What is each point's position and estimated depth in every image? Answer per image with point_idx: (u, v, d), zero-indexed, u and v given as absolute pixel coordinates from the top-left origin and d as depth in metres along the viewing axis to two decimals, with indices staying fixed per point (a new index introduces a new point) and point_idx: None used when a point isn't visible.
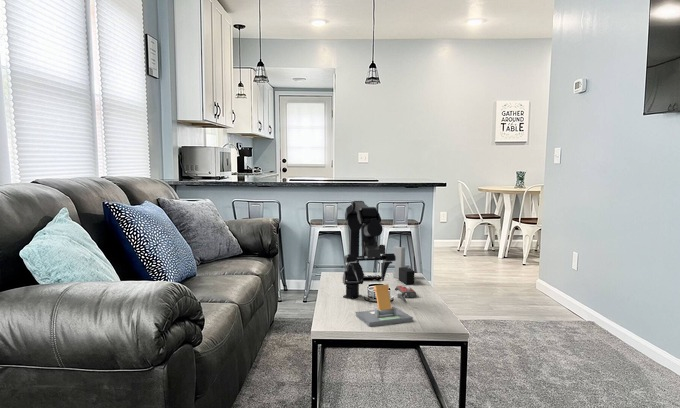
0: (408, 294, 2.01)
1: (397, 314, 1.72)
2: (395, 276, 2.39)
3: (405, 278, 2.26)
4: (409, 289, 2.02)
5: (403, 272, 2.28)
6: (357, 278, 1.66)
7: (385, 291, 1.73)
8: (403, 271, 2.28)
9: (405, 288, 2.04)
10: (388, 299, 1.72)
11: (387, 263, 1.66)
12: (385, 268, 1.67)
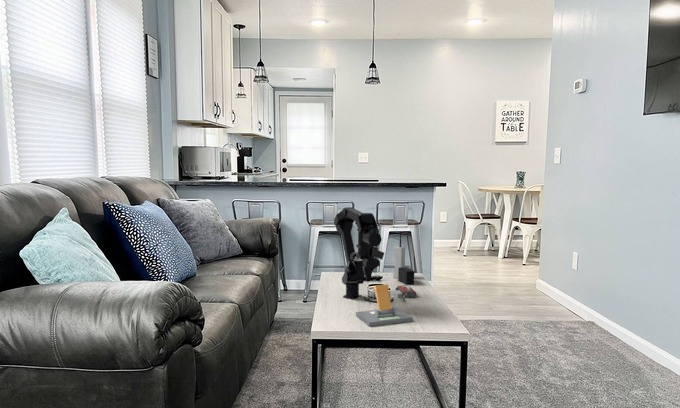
0: (408, 294, 2.01)
1: (397, 314, 1.72)
2: (395, 276, 2.39)
3: (405, 278, 2.25)
4: (409, 289, 2.02)
5: (403, 272, 2.28)
6: (369, 278, 1.85)
7: (385, 291, 1.73)
8: (403, 271, 2.28)
9: (405, 288, 2.04)
10: (388, 299, 1.72)
11: None
12: None
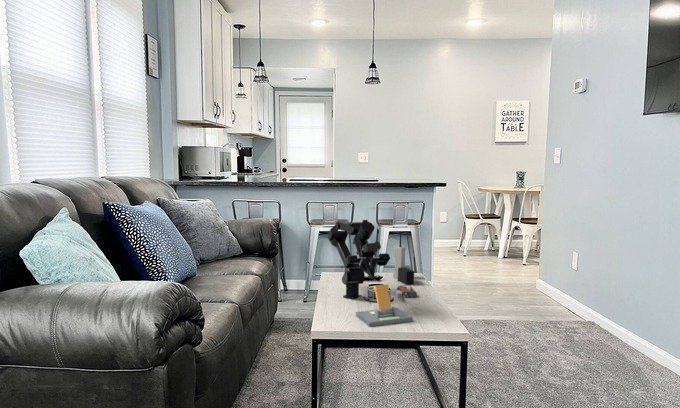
0: (408, 294, 2.01)
1: (397, 314, 1.72)
2: (395, 276, 2.39)
3: (405, 278, 2.25)
4: (409, 289, 2.02)
5: (403, 272, 2.28)
6: (371, 274, 1.81)
7: (385, 291, 1.73)
8: (403, 271, 2.28)
9: (405, 288, 2.04)
10: (388, 299, 1.72)
11: (374, 261, 1.83)
12: (373, 266, 1.83)
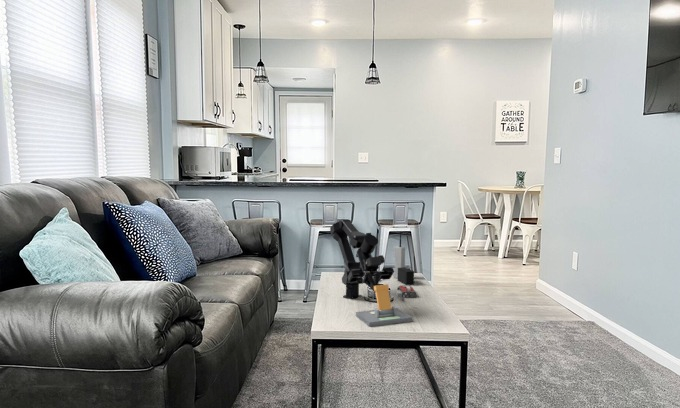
0: (408, 294, 2.02)
1: (397, 314, 1.72)
2: (395, 276, 2.39)
3: (405, 278, 2.25)
4: (409, 289, 2.03)
5: (402, 272, 2.27)
6: None
7: (385, 291, 1.73)
8: (402, 271, 2.27)
9: (405, 288, 2.04)
10: (388, 299, 1.72)
11: (378, 275, 1.80)
12: (377, 280, 1.79)
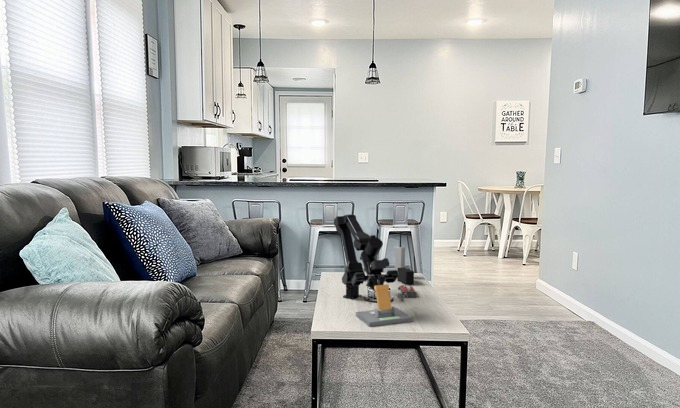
0: (408, 294, 2.02)
1: (397, 314, 1.72)
2: None
3: (404, 278, 2.25)
4: (409, 289, 2.03)
5: (402, 272, 2.27)
6: None
7: (385, 291, 1.73)
8: (402, 271, 2.27)
9: (405, 288, 2.04)
10: (388, 299, 1.72)
11: (382, 278, 1.76)
12: (381, 284, 1.76)
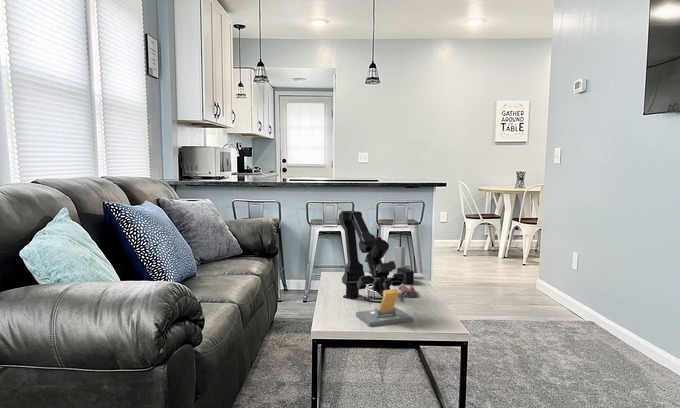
0: (408, 294, 2.02)
1: (397, 314, 1.72)
2: None
3: None
4: (409, 289, 2.03)
5: (402, 272, 2.27)
6: None
7: (393, 297, 1.67)
8: (402, 271, 2.27)
9: (406, 288, 2.04)
10: (393, 303, 1.68)
11: (388, 281, 1.71)
12: (388, 287, 1.71)
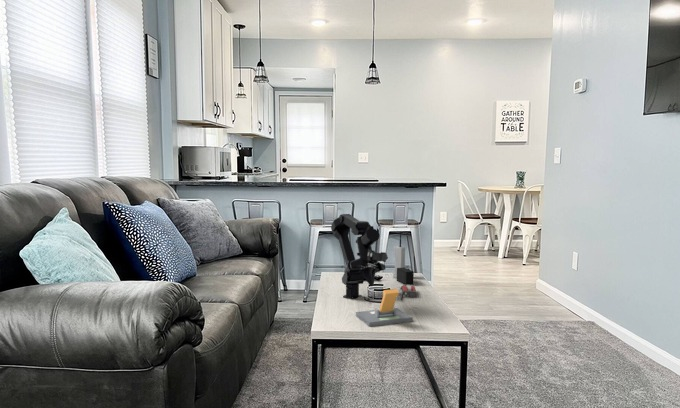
0: (408, 294, 2.02)
1: (397, 314, 1.72)
2: (395, 276, 2.39)
3: (404, 278, 2.25)
4: (410, 289, 2.03)
5: (402, 272, 2.27)
6: (371, 282, 1.81)
7: (393, 297, 1.67)
8: (402, 271, 2.27)
9: (406, 288, 2.04)
10: (393, 303, 1.68)
11: (376, 269, 1.84)
12: (374, 274, 1.84)
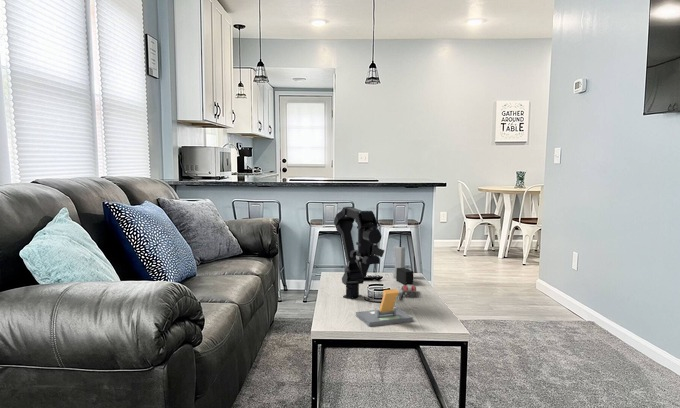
0: (408, 294, 2.02)
1: (397, 314, 1.72)
2: (395, 276, 2.39)
3: (404, 278, 2.24)
4: (410, 289, 2.03)
5: (402, 272, 2.27)
6: (366, 274, 1.88)
7: (393, 297, 1.67)
8: (402, 271, 2.27)
9: (407, 287, 2.05)
10: (393, 303, 1.68)
11: None
12: None
